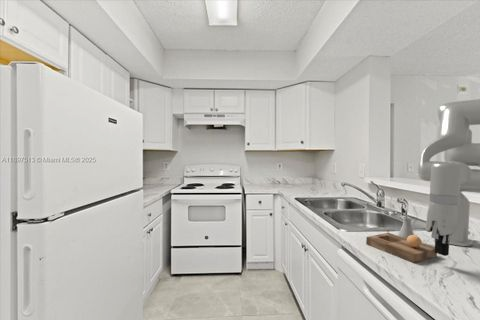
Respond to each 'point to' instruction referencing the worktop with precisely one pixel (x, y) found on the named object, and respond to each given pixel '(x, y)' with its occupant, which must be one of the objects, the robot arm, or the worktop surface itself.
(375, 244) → the board
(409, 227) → the flask
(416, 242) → the ball
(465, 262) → the worktop surface
